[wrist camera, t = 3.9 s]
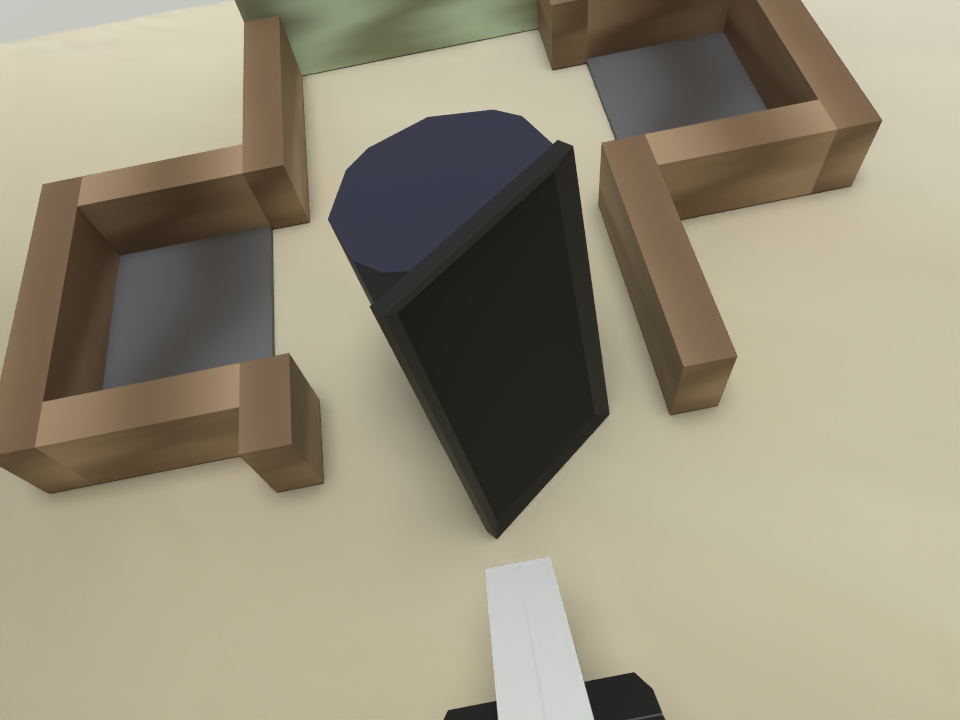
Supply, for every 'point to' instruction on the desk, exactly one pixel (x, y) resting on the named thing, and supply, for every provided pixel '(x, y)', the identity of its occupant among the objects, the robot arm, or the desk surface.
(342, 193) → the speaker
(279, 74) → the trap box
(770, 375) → the desk surface
